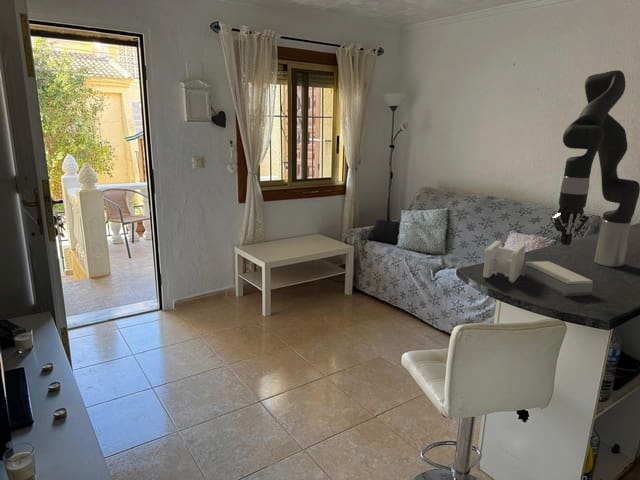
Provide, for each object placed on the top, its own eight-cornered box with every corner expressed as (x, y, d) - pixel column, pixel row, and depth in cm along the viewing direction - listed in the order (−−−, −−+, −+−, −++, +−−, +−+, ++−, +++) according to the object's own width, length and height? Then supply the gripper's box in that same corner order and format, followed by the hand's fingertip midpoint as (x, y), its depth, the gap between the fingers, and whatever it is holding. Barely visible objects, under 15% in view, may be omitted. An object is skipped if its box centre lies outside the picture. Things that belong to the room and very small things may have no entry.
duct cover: (548, 263, 163) (549, 260, 162) (592, 283, 144) (592, 279, 144) (525, 263, 161) (526, 261, 160) (567, 283, 142) (567, 280, 142)
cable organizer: (512, 286, 151) (517, 253, 148) (480, 279, 157) (484, 247, 154) (522, 274, 163) (526, 243, 160) (492, 268, 169) (496, 238, 165)
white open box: (547, 273, 164) (549, 263, 163) (591, 294, 145) (593, 283, 144) (523, 275, 162) (525, 264, 161) (564, 296, 143) (566, 284, 142)
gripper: (582, 188, 145) (573, 240, 150) (547, 189, 142) (539, 242, 147) (601, 192, 138) (591, 246, 143) (565, 193, 135) (556, 249, 140)
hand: (565, 244), depth 145 cm, fingers closed
